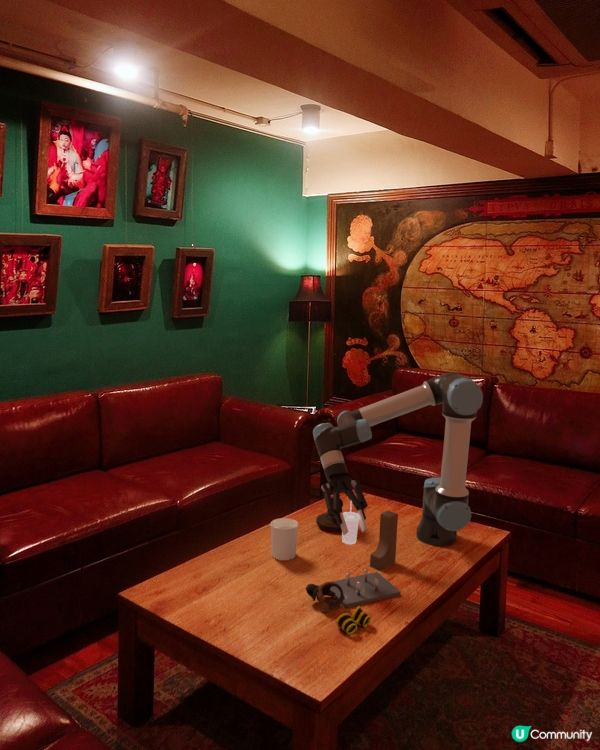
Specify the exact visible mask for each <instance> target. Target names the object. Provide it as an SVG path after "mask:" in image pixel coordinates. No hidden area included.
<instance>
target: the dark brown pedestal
mask: <svg viewBox="0 0 600 750" xmlns="http://www.w3.org/2000/svg"><path fill="white" fill-rule="evenodd" d="M329 491H330V494H331V495H333V490H332V489H331V488H329ZM331 499H332V503H333V507H334V496H333V497H331ZM343 507H344V502H343V500H342V498H340V512H339V513H343ZM315 518H316V519H315V523H316V525H317V526H318V527H320V530H321V531H323V530H324V529H325V530H330V531H342V529H341V526H340V525H338V524H337V521H336V518H335V517H334V516H333V515H332V514H331V515H329V514H328V510H327V509H326V511H325V512H324V513H321V514H319V515H317V516H316V517H315Z"/></svg>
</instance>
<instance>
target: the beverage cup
mask: <svg viewBox="0 0 600 750" xmlns="http://www.w3.org/2000/svg"><path fill="white" fill-rule="evenodd" d="M349 504H350V508H349V511H344V512H342V513H343V516H344V519H345V522H346V525H347V529H348V533H347V534H346V535H343V533H342V532H341V541H342V543H344V544H345V545H354V544H356V543H357V537H358V530H359V519H360V515H359V514H358V513H357V512H355V511H352V510H353V508H352V507H353V504H352V501H349Z"/></svg>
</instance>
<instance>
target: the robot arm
mask: <svg viewBox="0 0 600 750" xmlns="http://www.w3.org/2000/svg"><path fill="white" fill-rule="evenodd" d="M483 397H484V395H483V391H482V388H481V387H480V386H479V385H478V384H477V382H475V381H474V380H473V379H471V378H469V377H466V376H465V375H463V374H462V373H459V372H447V373H443V374H441V375H438V376H435V377H432V378H430V379H428V380H425V381H423V383H422V384H421V385H420V386H416V387H414V388H411V389H409V390H406V391H403V392H401V393H398V394H396V395H392V396H390V397H387V398H384V399H382V400H379V401H377V402H374V403H371V404H369V405H365V406H363V407H360V408H357V409H355V410H352V411H351V410H343V411H341V412H340V413H339V414H338V416H337V420H336V423H337V426H333V424H332V423H331V422H326V423H325V422H323V423H319V424H317V425H315V427H313V430H312V436H313V440H314V443H315V446H316V450H317V453H318V455H319V458H320V462H321V465H322V468H323V471H324V472H323V473H324V475H325V477H326V480H327V482H326V483H323V484H322V485H321V487H320V490H321V491H322V493H323V496H324V501H325V504H326V505H325V506H326V511H327V510H328V514H329V515H331V514H332V515H333V516H334V517H335V518H336V521H337V524H338V525H340V526H341V529H342V530H341V534H342V533H343V535H346V534H347V533H348V529H347V525H346V522H345V519H344V516H343V513H344V512H342V513H339V512H340V499H341V497H340V496H341V495H340V494H345V496H346V497H348V499H349V500H350V501H352V506H353V507H354V508H355V510H356V511H357V512H356V513H358V514H359V515H360V519H359V523H358V525H359V526H360V530H361V532H362V533H364V532H366V531H367V530H368V526H367V523H366V519H367V517H366V514H365V510H366V508H367V507H368V503H367V500H366V498H365V495H364V493H363V491H362V488H361V484H360V480H359V479H356V480H354V479H353V480H352V478H351V477H350V476H349V472H348V469H347V465H346V464H345V460H344V455H343V453H342V450H341V449H343V448H348V447H350V446H354V445H357V444H360V443H365V442H366V441H369V440H371V439H372V438H373V434H372V433H373V432H372V430H371V427H373V426H376V425H378V424H380V423H383V422H386V421H389V420H392V419H394V418H397V417H400V416H403V415H405V414H408V413H410V412H414V411H417V410H420V409H421V408H424V407H427V406H433V407H436V406H438V405H441V404H442V410H441V415H442V416H443V417H444V419H445V424H444V425H445V426H444V427H445V428H444V437H443V438H444V439H443V450H442V459H441V471H440V477H430V478H426V479H425V480H424V484H423V485H424V486H423V487H422V488H423V496H422V510H421V511H422V513H421V514H422V515H421V518H420V521H419V522H418V523H419V524H418V526H417V527H416V533H415V535H416V538H417V539H418V540H419V541H421V542H423V543H425V544H428V545H433V546H438V547H439V546H443V547H445V546H451V545H453V544H455V543H456V542H457V539H458V533H457V531H460V530H463V529H464V528H465V527H466V526H467V525H468V524H469V523H470V522H471V518H472V511H471V508H470V506H469V498H470V497H469V496H470V493H469V492H470V491H469V490H468V489H467V487H466V481H467V470H468V468H467V467H468V459H469V452H470V451H469V449H470V440H471V439H470V437H471V429H472V422H473V421H475V419H477V414H478V410H480V409H481V408H482V405H483V401H484V400H483V399H484V398H483ZM351 485H352V487H351ZM329 488H331V489H332V490H333V494H331V492H330V490H329ZM354 492H355V493H354ZM332 496H333V497H334V507H333V503H332V499H331V498H332ZM350 501H349V502H350Z"/></svg>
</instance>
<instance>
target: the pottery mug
mask: <svg viewBox="0 0 600 750" xmlns="http://www.w3.org/2000/svg"><path fill="white" fill-rule="evenodd" d="M334 586H335V587H337V588H338V589H339V591H340V594H341V595H340V598H339V599H337V600H336V599H335V600H328V602H327V601H326V597H325V596H327V597H330V598H333V599H334V595H335V592H333V591H331V590H330V588H331V587H334ZM305 591H306V593H307V595H308V596H310V598H311V599H312V601H313V602H315V601H316V599H317V600H319V601H320V603H321V604H322V607H321V611H322V612H324V613H327V612H328V611H333V610H335V609H337V608H339V607H340V606H341V604H342V603H343V600H344V595H343V590H342V588H341V586H339V585H338V584H337V583H334V582H332V581H326V582H323V583H322V584H319V585H317V584H316V583H315V584H314V583H309V584H307V585H306V586H305Z"/></svg>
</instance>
